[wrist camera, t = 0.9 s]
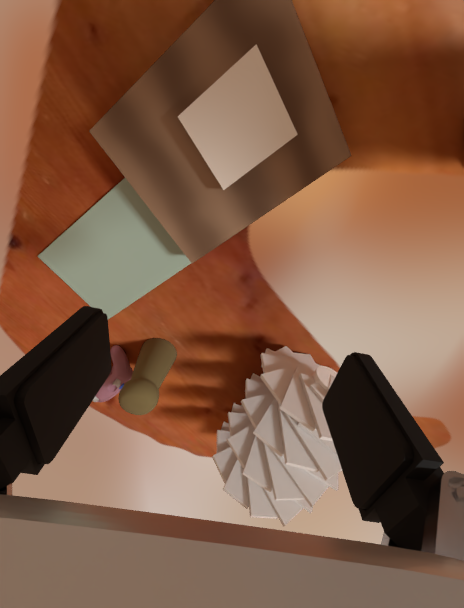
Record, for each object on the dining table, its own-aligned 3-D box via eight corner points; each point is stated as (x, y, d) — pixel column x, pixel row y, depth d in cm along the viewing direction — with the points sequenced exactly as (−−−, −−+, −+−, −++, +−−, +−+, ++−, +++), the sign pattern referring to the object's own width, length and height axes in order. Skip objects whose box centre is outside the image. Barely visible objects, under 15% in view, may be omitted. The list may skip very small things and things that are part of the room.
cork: (134, 352, 42) (102, 406, 32) (155, 331, 39) (127, 383, 30) (162, 371, 43) (140, 427, 34) (184, 352, 41) (166, 407, 32)
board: (264, -19, 21) (269, -57, 18) (337, 157, 27) (351, 155, 24) (108, 136, 27) (89, 131, 24) (197, 253, 33) (191, 263, 30)
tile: (255, 55, 21) (256, 44, 19) (293, 137, 23) (297, 134, 21) (182, 121, 23) (177, 116, 21) (224, 189, 26) (223, 190, 24)
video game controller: (103, 373, 46) (100, 410, 42) (79, 368, 43) (73, 408, 39) (137, 349, 43) (138, 386, 39) (114, 341, 40) (111, 381, 36)
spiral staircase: (234, 404, 53) (286, 315, 40) (307, 457, 49) (391, 376, 36) (182, 483, 38) (239, 379, 25) (282, 571, 33) (411, 499, 21)
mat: (131, 173, 29) (129, 173, 28) (196, 258, 33) (195, 259, 33) (39, 255, 34) (37, 256, 34) (107, 319, 39) (105, 320, 38)
